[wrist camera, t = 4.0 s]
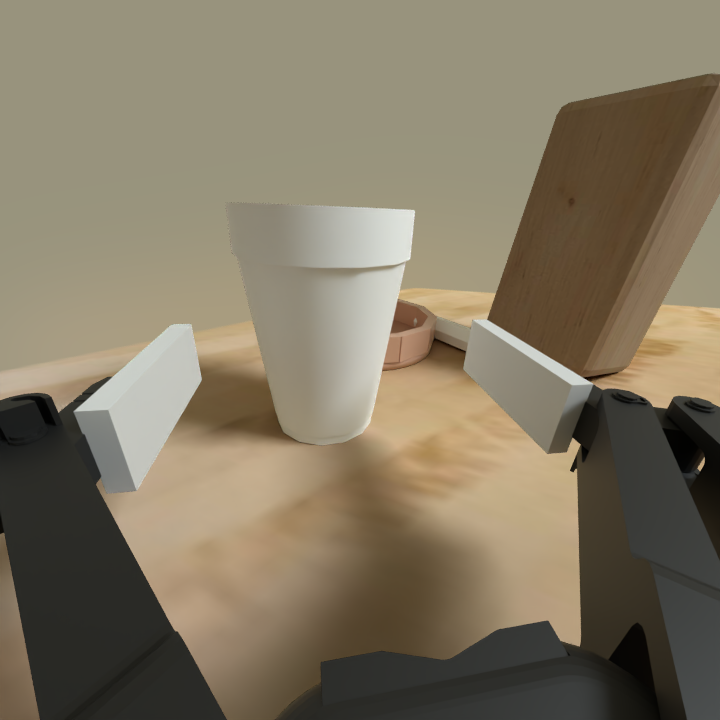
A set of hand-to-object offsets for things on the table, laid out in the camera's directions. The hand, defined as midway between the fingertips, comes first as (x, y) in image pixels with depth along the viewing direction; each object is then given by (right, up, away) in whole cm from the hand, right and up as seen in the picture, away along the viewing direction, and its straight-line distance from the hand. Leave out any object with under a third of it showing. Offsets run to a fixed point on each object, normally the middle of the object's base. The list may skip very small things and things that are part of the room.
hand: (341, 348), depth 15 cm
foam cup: (-1, -4, +7) cm, 8 cm away
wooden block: (+19, 0, +16) cm, 25 cm away
